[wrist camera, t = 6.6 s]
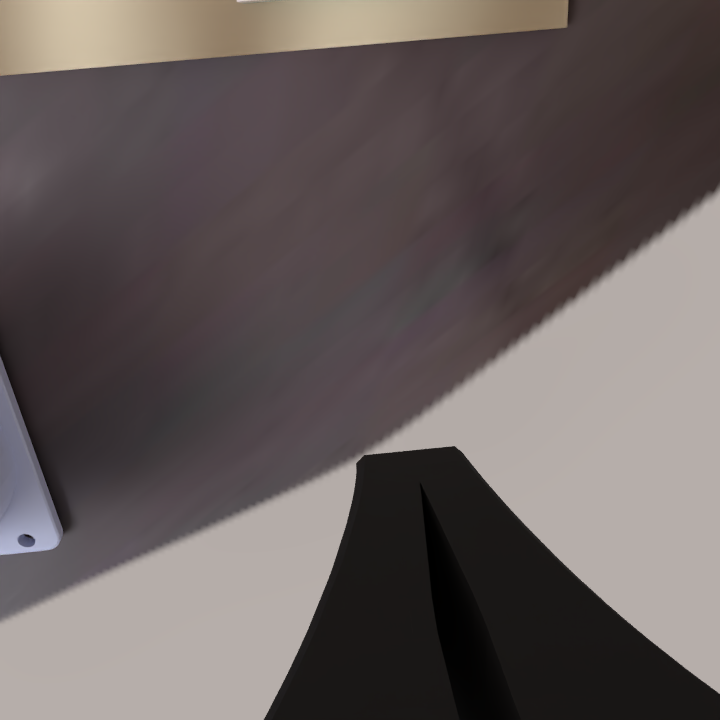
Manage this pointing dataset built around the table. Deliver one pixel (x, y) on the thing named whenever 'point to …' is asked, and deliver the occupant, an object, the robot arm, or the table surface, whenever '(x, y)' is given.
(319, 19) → the board
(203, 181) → the table surface
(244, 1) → the tile
